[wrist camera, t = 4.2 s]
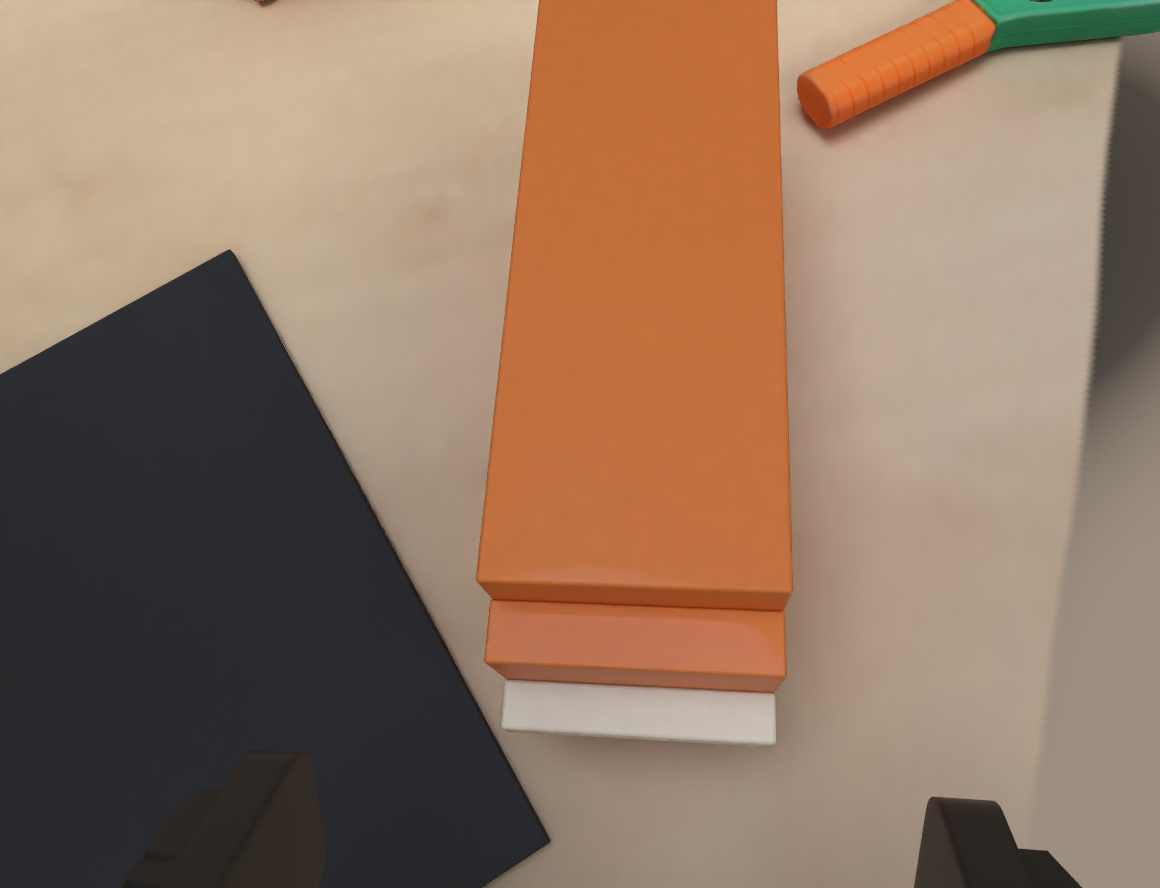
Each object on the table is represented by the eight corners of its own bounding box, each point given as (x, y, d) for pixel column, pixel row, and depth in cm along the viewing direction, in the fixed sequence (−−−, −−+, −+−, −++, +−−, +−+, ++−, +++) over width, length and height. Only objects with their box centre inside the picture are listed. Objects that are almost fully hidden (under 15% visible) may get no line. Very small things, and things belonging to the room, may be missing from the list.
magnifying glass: (1135, -125, 31) (1159, -175, 29) (1270, -20, 28) (1304, -69, 27) (756, 65, 29) (760, 23, 28) (865, 192, 27) (876, 153, 25)
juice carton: (760, 757, 21) (797, 729, 14) (531, 743, 22) (460, 710, 15) (752, 170, 28) (776, -45, 21) (576, 173, 28) (542, -33, 21)
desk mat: (-180, 483, 27) (-192, 478, 26) (235, 255, 28) (229, 248, 28) (-2, 1209, 19) (-16, 1217, 19) (551, 841, 21) (549, 841, 20)
